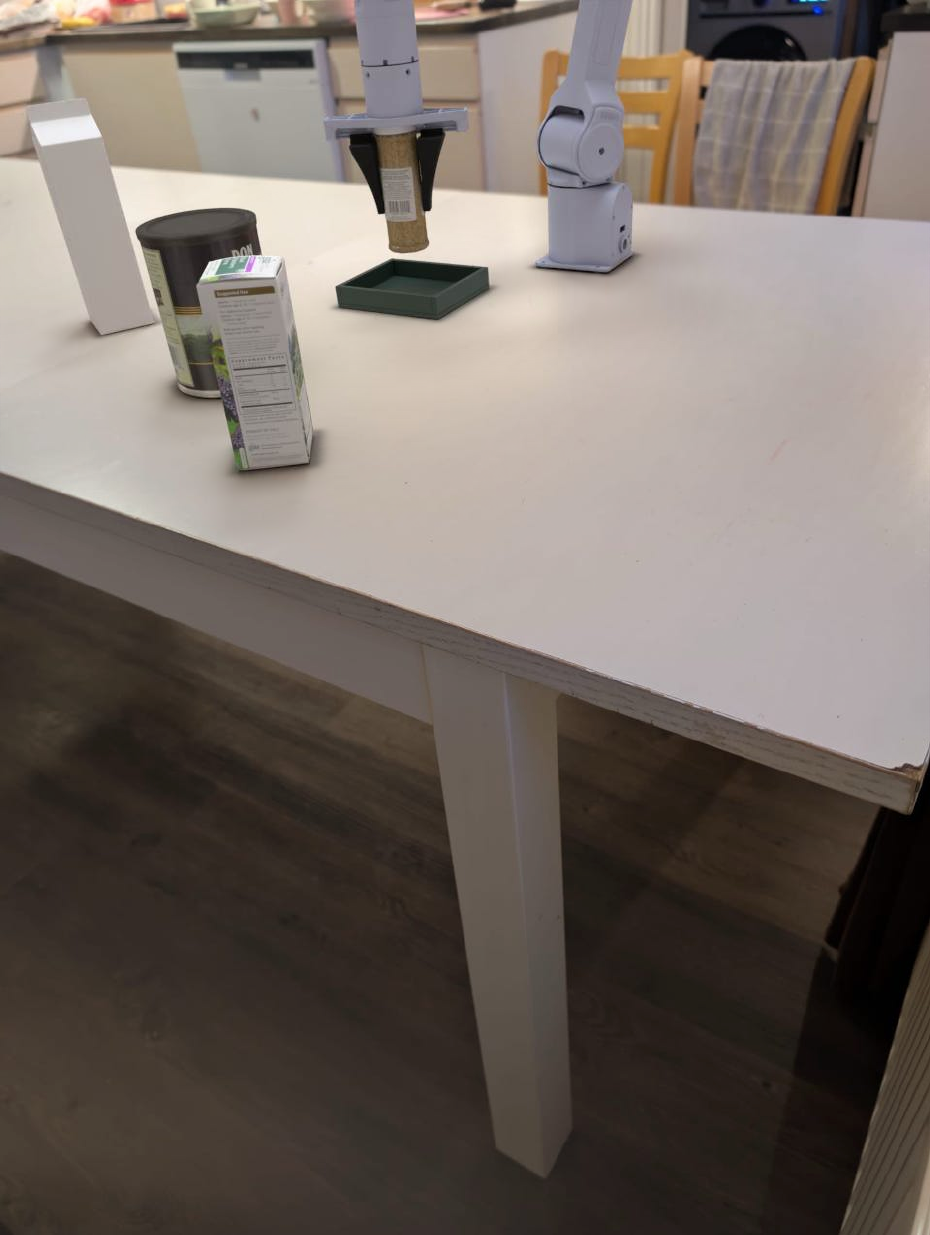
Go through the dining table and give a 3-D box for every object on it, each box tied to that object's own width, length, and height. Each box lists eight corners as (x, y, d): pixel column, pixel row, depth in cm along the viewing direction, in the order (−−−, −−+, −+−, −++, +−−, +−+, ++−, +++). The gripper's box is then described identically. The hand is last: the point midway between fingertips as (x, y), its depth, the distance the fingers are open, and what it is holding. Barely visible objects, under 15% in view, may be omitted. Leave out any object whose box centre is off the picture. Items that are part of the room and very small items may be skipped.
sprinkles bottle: (437, 244, 100) (424, 105, 92) (414, 256, 97) (399, 113, 89) (403, 241, 102) (387, 106, 94) (379, 253, 99) (361, 113, 91)
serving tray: (489, 287, 103) (488, 267, 102) (437, 319, 96) (435, 297, 94) (394, 277, 109) (391, 258, 108) (338, 307, 102) (335, 286, 100)
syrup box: (245, 440, 75) (202, 259, 66) (316, 433, 75) (283, 251, 66) (237, 472, 70) (190, 281, 62) (313, 464, 70) (277, 273, 62)
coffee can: (307, 365, 88) (279, 210, 79) (233, 406, 81) (194, 241, 73) (230, 351, 92) (196, 203, 84) (154, 388, 86) (109, 231, 77)
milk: (155, 324, 102) (93, 100, 88) (100, 336, 100) (28, 109, 86) (142, 310, 106) (81, 95, 93) (89, 321, 104) (20, 103, 91)
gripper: (466, 53, 91) (475, 197, 99) (325, 63, 93) (345, 205, 101) (460, 60, 86) (470, 213, 94) (311, 72, 87) (333, 221, 95)
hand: (405, 210), depth 97 cm, fingers closed on sprinkles bottle, 4 cm apart
